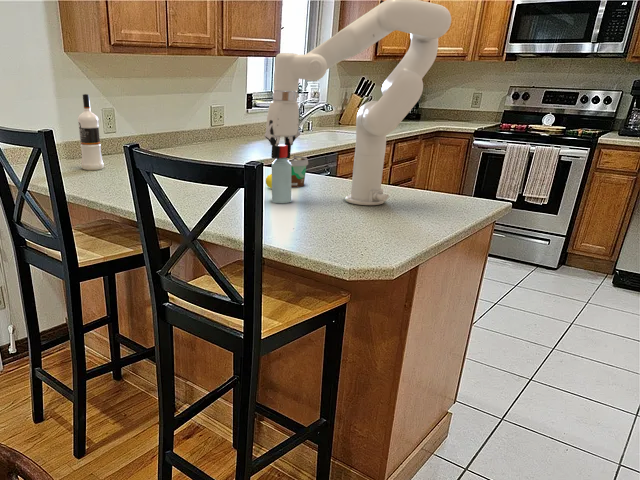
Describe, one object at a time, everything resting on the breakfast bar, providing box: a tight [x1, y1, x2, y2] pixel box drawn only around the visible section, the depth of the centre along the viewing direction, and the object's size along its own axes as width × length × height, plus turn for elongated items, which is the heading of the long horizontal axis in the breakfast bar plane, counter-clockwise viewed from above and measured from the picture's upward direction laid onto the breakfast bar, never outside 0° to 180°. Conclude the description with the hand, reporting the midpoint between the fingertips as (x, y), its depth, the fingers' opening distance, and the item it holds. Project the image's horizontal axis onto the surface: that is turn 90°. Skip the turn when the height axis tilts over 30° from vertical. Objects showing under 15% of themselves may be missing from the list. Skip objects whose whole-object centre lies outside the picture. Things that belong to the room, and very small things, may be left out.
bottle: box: [271, 158, 292, 204], centre depth 171 cm, size 6×6×18 cm
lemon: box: [265, 173, 272, 189], centre depth 192 cm, size 7×5×5 cm
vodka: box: [77, 93, 105, 171], centre depth 220 cm, size 9×9×30 cm
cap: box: [278, 144, 288, 158], centre depth 168 cm, size 4×4×4 cm
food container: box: [289, 155, 309, 188], centre depth 197 cm, size 12×6×10 cm, turn 168°
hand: (280, 157), depth 169 cm, fingers closed on cap, 3 cm apart
